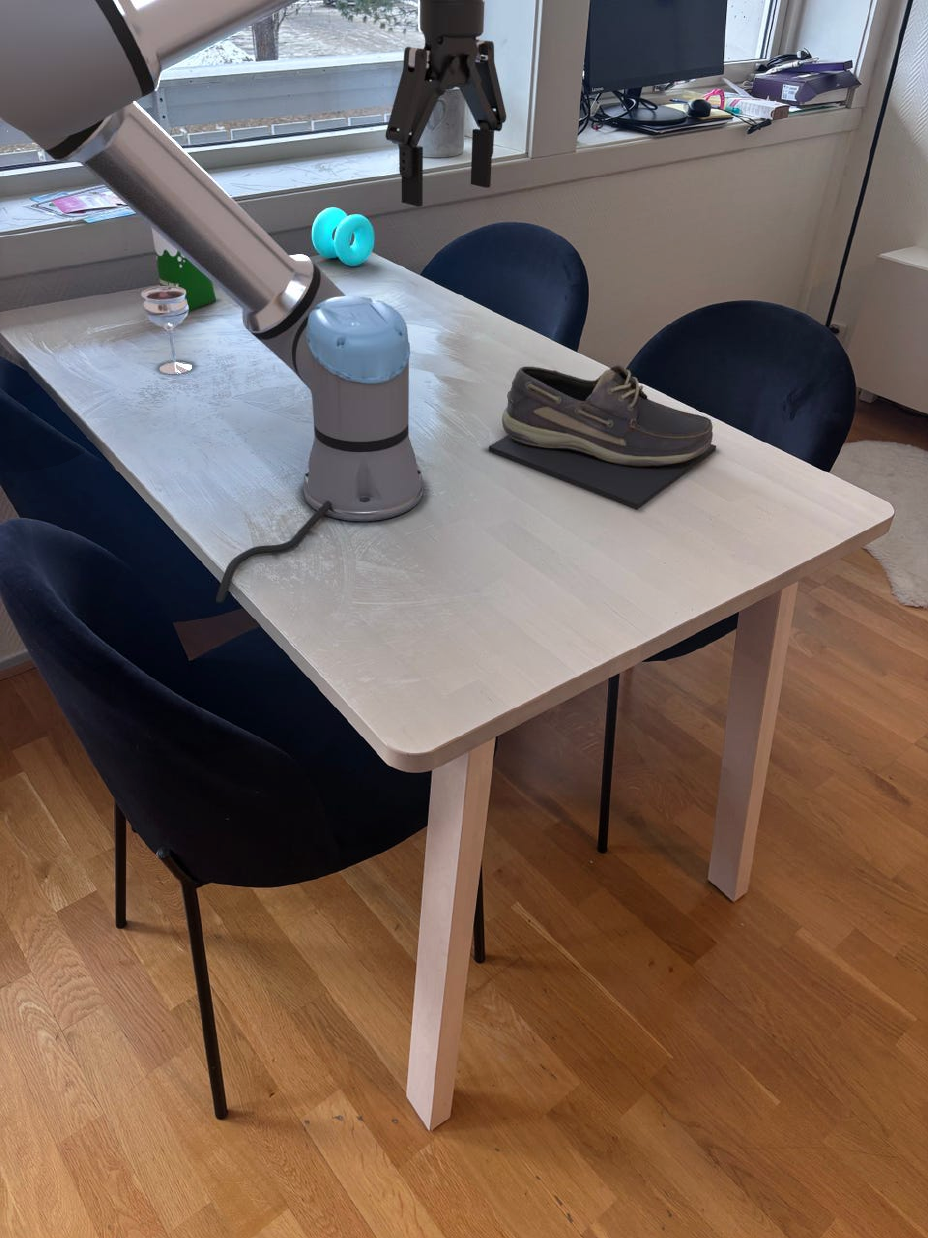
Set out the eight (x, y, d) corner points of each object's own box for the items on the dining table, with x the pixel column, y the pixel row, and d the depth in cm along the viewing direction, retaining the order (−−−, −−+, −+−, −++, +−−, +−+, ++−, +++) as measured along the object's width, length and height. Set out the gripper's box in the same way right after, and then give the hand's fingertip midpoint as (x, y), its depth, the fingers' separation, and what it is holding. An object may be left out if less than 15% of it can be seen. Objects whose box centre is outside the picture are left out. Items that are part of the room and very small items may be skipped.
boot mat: (637, 509, 122) (637, 504, 122) (488, 451, 134) (488, 445, 133) (715, 450, 136) (716, 445, 136) (574, 402, 148) (575, 397, 147)
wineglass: (145, 373, 151) (132, 297, 144) (166, 357, 156) (154, 283, 149) (185, 378, 150) (173, 302, 143) (204, 362, 155) (194, 288, 148)
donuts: (342, 271, 195) (339, 220, 189) (310, 260, 200) (307, 210, 194) (378, 262, 201) (377, 212, 195) (346, 251, 206) (344, 202, 200)
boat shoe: (707, 478, 128) (723, 403, 121) (493, 451, 132) (497, 377, 125) (708, 442, 136) (723, 371, 130) (506, 418, 140) (511, 347, 134)
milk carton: (154, 303, 176) (135, 187, 164) (189, 290, 183) (174, 178, 171) (188, 313, 173) (172, 196, 161) (223, 300, 179) (210, 186, 167)
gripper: (403, 1, 98) (404, 218, 111) (542, -8, 114) (528, 183, 127) (350, -5, 102) (357, 206, 115) (492, -13, 118) (484, 173, 130)
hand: (447, 194), depth 121 cm, fingers open, 13 cm apart
